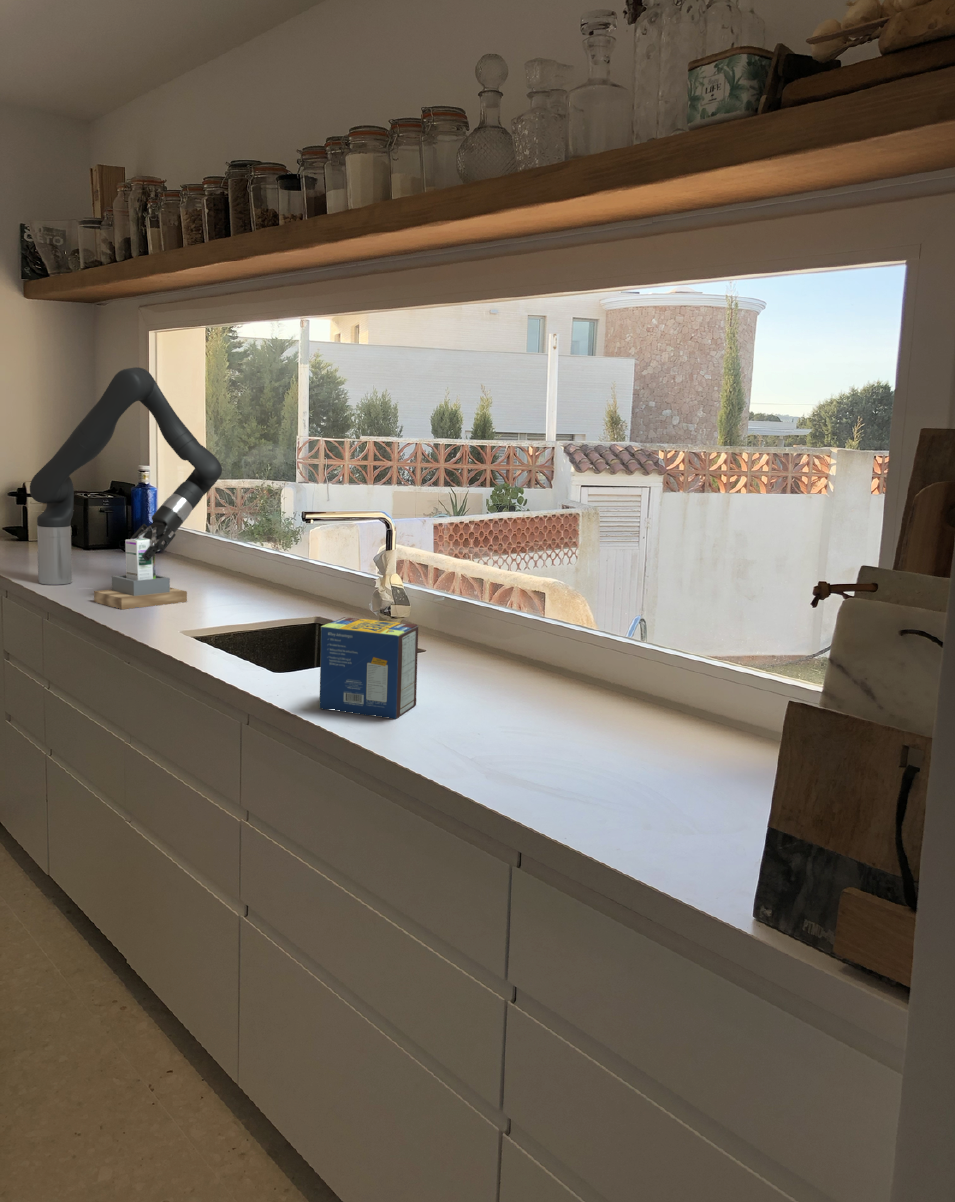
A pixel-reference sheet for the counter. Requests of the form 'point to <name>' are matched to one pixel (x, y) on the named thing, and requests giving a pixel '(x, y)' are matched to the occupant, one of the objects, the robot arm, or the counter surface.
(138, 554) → the syrup box
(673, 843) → the counter surface
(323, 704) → the protein box
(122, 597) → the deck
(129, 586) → the grey square frame
